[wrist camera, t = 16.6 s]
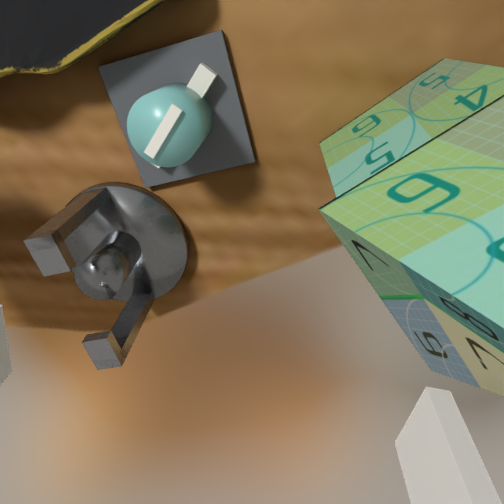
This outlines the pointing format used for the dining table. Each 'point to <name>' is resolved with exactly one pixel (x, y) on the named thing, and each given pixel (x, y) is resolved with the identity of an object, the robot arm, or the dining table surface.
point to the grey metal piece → (114, 256)
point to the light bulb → (172, 120)
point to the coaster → (181, 71)
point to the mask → (60, 31)
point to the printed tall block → (431, 213)
